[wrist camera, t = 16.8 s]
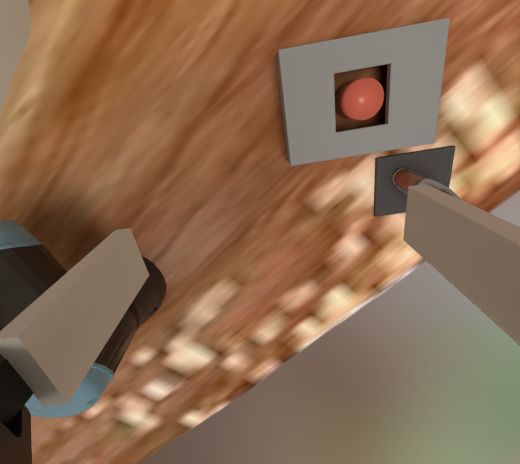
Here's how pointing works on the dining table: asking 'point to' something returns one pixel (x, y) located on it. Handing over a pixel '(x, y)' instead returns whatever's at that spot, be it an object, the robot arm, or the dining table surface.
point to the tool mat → (421, 162)
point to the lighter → (416, 181)
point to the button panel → (354, 58)
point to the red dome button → (359, 99)
